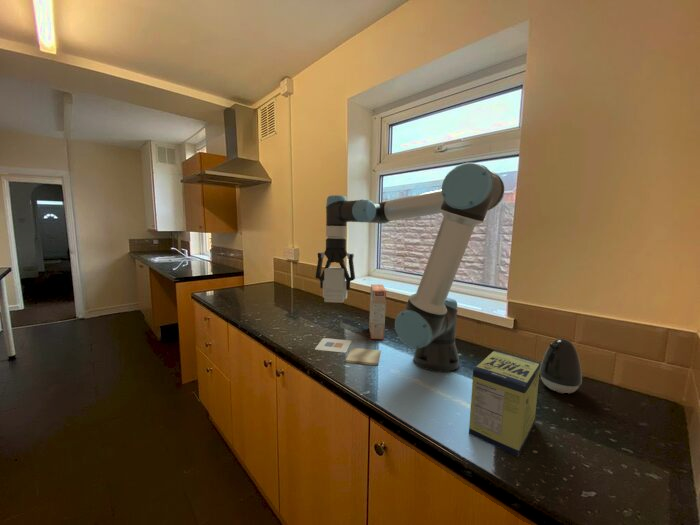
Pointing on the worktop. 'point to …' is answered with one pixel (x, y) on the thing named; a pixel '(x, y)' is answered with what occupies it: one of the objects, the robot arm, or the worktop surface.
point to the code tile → (333, 345)
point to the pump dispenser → (561, 367)
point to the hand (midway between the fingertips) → (334, 297)
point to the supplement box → (334, 284)
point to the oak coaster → (364, 356)
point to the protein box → (504, 400)
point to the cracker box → (377, 311)
